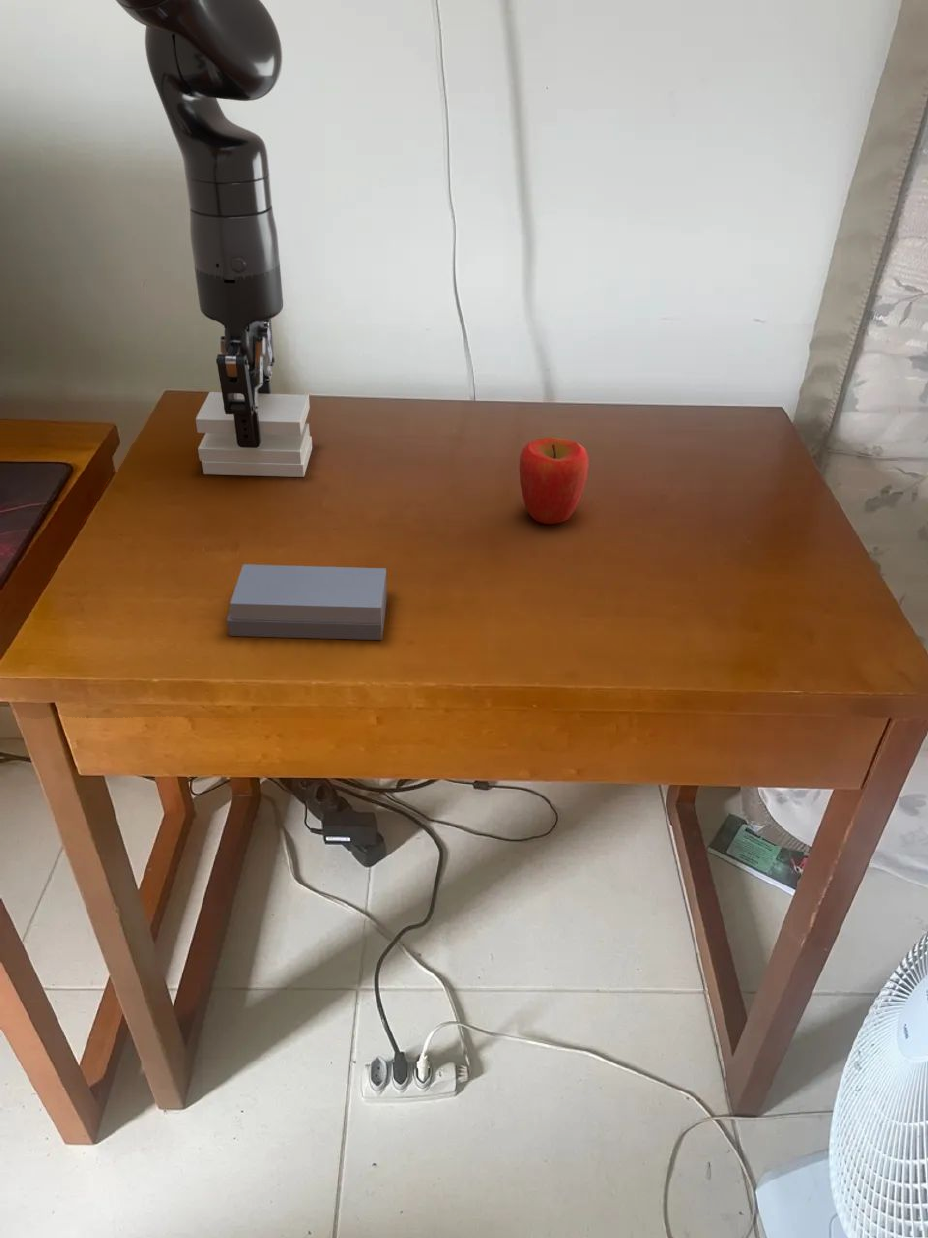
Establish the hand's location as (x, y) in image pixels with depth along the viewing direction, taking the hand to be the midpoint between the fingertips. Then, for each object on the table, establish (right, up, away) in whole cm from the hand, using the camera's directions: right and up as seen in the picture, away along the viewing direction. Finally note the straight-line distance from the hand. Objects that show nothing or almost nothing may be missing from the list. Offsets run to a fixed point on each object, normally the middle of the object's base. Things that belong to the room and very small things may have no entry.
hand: (255, 429), depth 98 cm
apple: (+29, -9, -5) cm, 31 cm away
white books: (0, -3, +2) cm, 4 cm away
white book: (0, +1, -1) cm, 1 cm away
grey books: (+8, -19, -19) cm, 28 cm away
